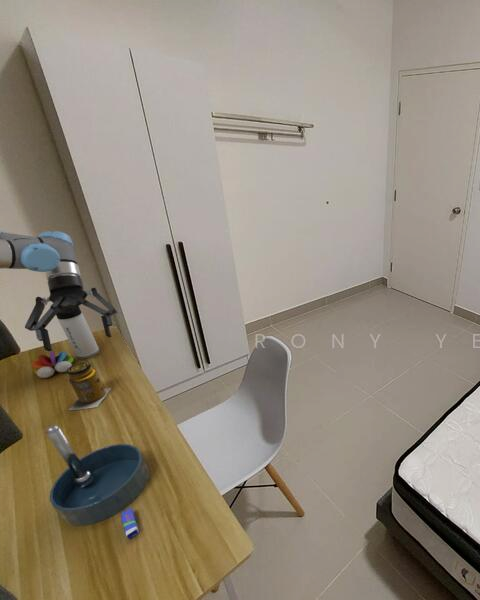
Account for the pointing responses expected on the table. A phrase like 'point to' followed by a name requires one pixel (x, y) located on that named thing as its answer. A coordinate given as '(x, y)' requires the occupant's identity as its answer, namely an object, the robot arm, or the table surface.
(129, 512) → the eraser
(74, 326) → the travel mug
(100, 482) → the bowl
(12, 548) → the table surface
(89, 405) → the condiment
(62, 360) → the rainbow petal flower
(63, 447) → the silver-tipped handle
